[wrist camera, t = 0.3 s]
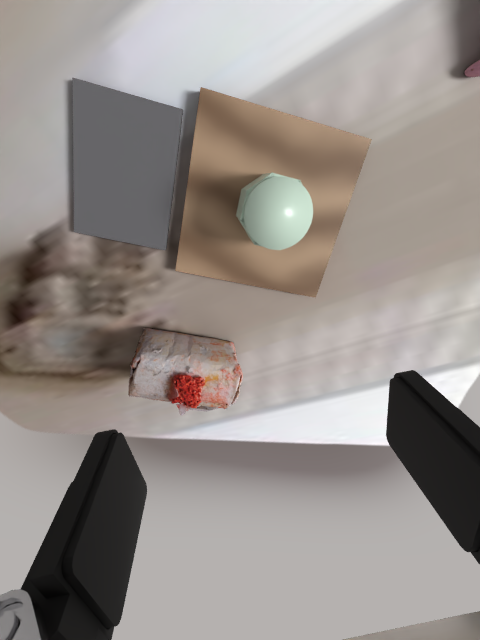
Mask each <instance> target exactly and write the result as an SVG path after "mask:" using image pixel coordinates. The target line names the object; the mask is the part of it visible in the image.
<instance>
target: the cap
mask: <svg viewBox="0 0 480 640" xmlns="http://www.w3.org/2000/svg"><path fill="white" fill-rule="evenodd" d="M236 216H237V218H238V219H239V221H240V223H241V224H242V226H243V228H244V229H245V231H246V233H247V234H248V236H249V238H250V239H251V241H252V242H253V244H254V245H258V246H262V247H265V248H268V249H272V250H282V249H286V248H289V247H291V246H293V245H295V244H296V243H298V242H299V241H300V240H301V239H302V238H303V237H304V236H305V234H306V233H307V231H308V229H309V227H310V225H311V222H312V218H313V204H312V200H311V197H310V195H309V193H308V191H307V190H306V188H305V187H304V186H303V185H302V183H301V180H298V179H294V178H290V177H287V176H283V175H279V174H275V173H273V172H272V173H266V174H262V175H261V176H260V177H258V178H257V179H255V180H254V181H252V182H251V183H249V184H248V185H247V186H245V187H244V188H242V189H241V194H240V198H239V203H238V208H237V213H236Z"/></svg>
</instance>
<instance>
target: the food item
mask: <svg viewBox="0 0 480 640" xmlns="http://www.w3.org/2000/svg"><path fill="white" fill-rule="evenodd" d="M135 352H136V354H135V356H134V358H133V361H132V362H131V363H130V367H131V374H130V380H129V396H135V397H143V398H147V399H152V400H161V401H168V402H172V403H180V404H176V405H177V407H178V408H179V413H180V415H183V414H185V412H186V411H188V410H198V411H210V410H214V409H218V408H224V409H225V408H228V406H230V405H232V404H235V402H236V400H237V398H238V396H239V392H240V385H241V383H242V379H243V374H242V371H241V368H240V366H239V364H238V363H237V357H236V351H235V346H234V343H233V342H230V341H224V340H219V339H214V338H207V337H199V336H194V335H188V334H182V333H176V332H170V331H163V330H156V329H150V328H143V334H142V336H140V340H139V342H138V346H137V349H136V351H135ZM131 365H132V366H131ZM181 403H184V404H181ZM198 405H201V406H200V407H197V406H198ZM186 409H187V410H186ZM207 409H208V410H207Z"/></svg>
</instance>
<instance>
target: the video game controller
mask: <svg viewBox="0 0 480 640" xmlns="http://www.w3.org/2000/svg"><path fill="white" fill-rule="evenodd" d="M465 75H466V76H468V77H477V76H480V60H479V61H477V62H475V63H474V64H472V65H471V66H469V67H468V68H467V69H466V70H465Z"/></svg>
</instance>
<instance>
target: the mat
mask: <svg viewBox="0 0 480 640" xmlns="http://www.w3.org/2000/svg"><path fill="white" fill-rule="evenodd" d="M72 79H73V187H74V232H77V233H82V234H86V235H91V236H96V237H101V238H106V239H111V240H116V241H121V242H126V243H131V244H136V245H141V246H146V247H151V248H156V249H161V250H166V247H167V239H168V231H169V223H170V214H171V206H172V198H173V189H174V181H175V173H176V165H177V156H178V148H179V140H180V131H181V123H182V115H183V110H182V109H179V108H176V107H172V106H169V105H165V104H162V103H159V102H155V101H152V100H148V99H145V98H141V97H138V96H134V95H131V94H127V93H124V92H121V91H117V90H114V89H110V88H107V87H103V86H100V85H96V84H93V83H89V82H86V81H83V80H79V79H76V78H72Z"/></svg>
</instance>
